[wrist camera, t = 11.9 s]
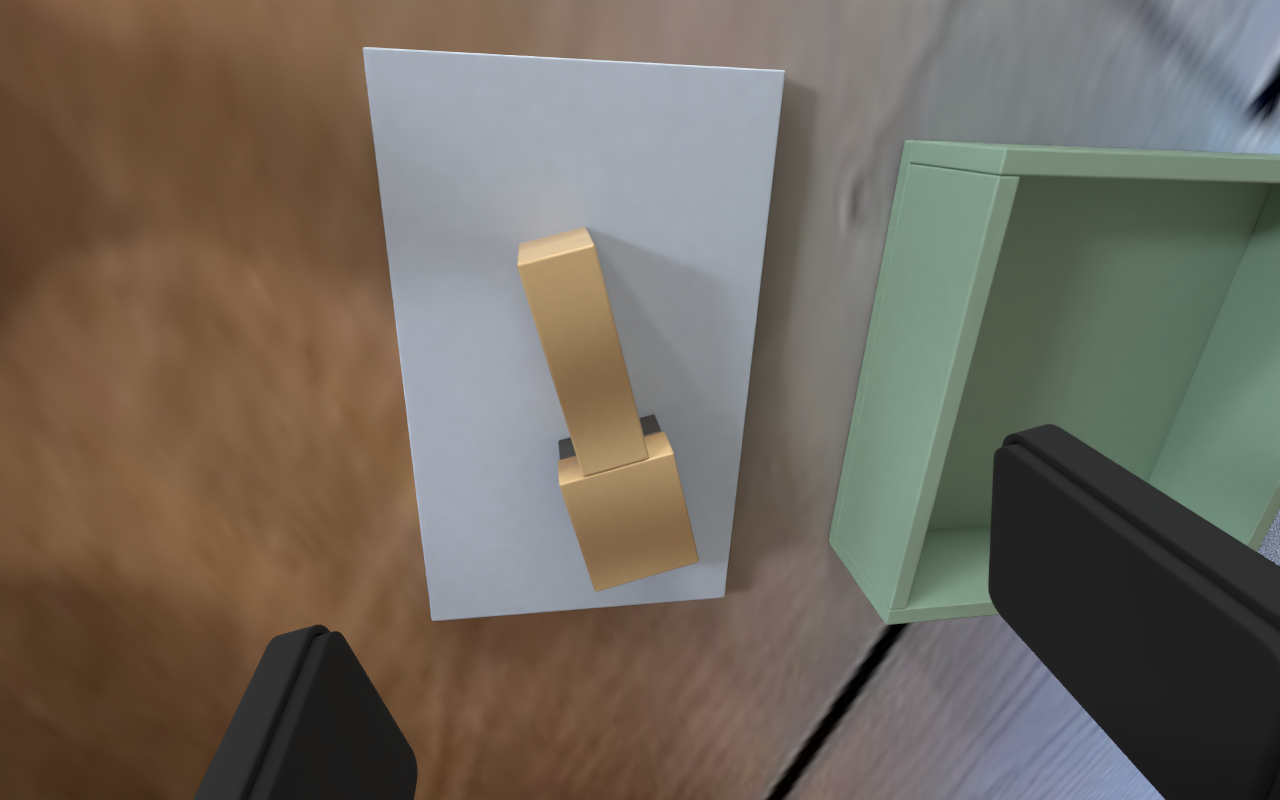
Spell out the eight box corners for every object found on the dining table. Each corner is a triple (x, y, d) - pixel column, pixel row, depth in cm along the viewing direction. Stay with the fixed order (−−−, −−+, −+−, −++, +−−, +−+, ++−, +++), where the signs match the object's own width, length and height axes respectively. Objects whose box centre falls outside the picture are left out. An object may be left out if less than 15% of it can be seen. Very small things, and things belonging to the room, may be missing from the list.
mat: (370, 49, 18) (362, 46, 17) (774, 72, 20) (786, 70, 19) (434, 604, 26) (431, 621, 25) (718, 582, 28) (724, 597, 27)
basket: (904, 140, 22) (1005, 147, 17) (1282, 154, 24) (1461, 164, 19) (827, 541, 28) (885, 625, 24) (1130, 521, 31) (1236, 593, 26)
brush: (492, 250, 20) (486, 271, 17) (610, 219, 20) (623, 236, 17) (587, 541, 25) (595, 593, 22) (681, 514, 25) (699, 562, 22)
